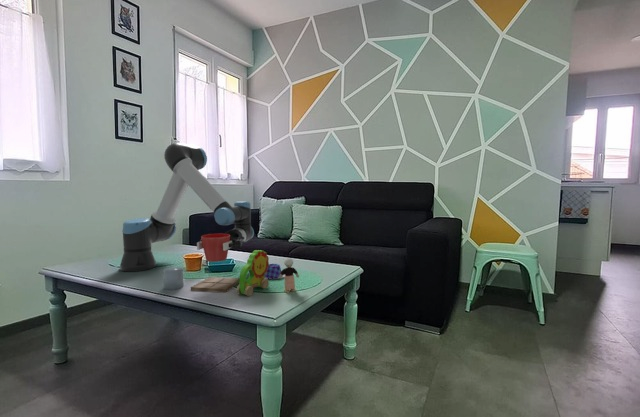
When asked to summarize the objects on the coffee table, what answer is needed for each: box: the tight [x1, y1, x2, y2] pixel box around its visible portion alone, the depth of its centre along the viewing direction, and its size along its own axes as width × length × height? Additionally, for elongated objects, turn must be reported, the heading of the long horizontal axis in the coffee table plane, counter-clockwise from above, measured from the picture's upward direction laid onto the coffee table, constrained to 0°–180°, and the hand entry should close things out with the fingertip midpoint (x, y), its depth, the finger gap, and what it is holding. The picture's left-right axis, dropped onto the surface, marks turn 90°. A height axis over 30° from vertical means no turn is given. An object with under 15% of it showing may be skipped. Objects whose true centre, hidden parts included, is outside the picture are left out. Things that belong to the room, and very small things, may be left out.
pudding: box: [265, 263, 285, 280], centre depth 145 cm, size 12×12×5 cm
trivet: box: [190, 276, 239, 293], centre depth 131 cm, size 14×14×1 cm
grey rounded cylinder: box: [162, 266, 184, 291], centre depth 129 cm, size 7×7×7 cm
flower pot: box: [200, 232, 230, 263], centre depth 130 cm, size 11×11×10 cm
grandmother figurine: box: [279, 257, 300, 294], centre depth 124 cm, size 8×4×13 cm, turn 123°
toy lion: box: [236, 249, 270, 297], centre depth 125 cm, size 16×5×15 cm, turn 155°
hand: (210, 246), depth 126 cm, fingers closed on flower pot, 10 cm apart
